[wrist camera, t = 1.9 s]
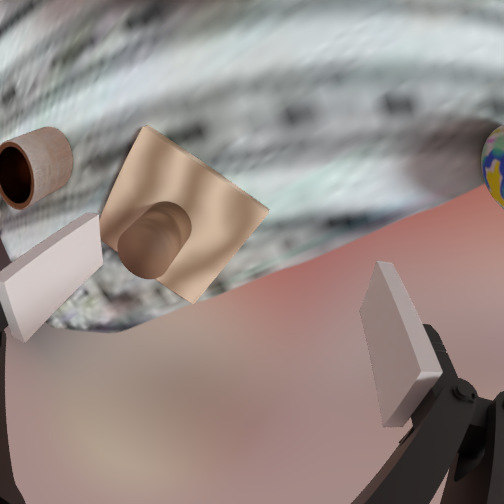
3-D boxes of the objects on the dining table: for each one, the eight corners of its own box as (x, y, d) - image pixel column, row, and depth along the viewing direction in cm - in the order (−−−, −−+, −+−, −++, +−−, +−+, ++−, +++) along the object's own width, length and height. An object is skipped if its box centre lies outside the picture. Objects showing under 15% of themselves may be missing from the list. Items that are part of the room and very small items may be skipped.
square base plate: (98, 230, 47) (63, 261, 39) (147, 125, 38) (107, 139, 29) (196, 298, 51) (176, 341, 42) (269, 209, 41) (259, 245, 33)
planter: (54, 199, 46) (18, 223, 38) (24, 154, 42) (-15, 172, 34) (86, 161, 42) (45, 182, 33) (52, 112, 38) (9, 124, 30)
